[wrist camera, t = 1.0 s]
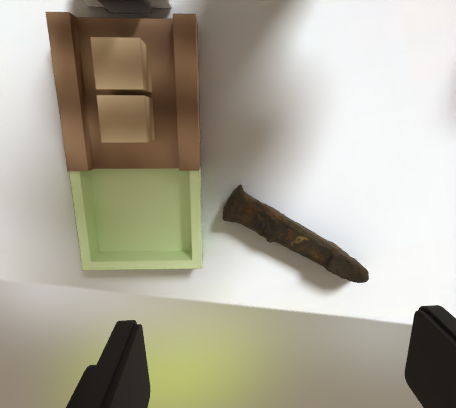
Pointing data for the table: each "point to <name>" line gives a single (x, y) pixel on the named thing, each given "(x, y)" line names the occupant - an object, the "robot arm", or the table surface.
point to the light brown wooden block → (126, 118)
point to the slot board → (161, 93)
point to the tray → (138, 218)
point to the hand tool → (291, 235)
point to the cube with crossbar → (129, 5)
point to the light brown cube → (121, 65)
